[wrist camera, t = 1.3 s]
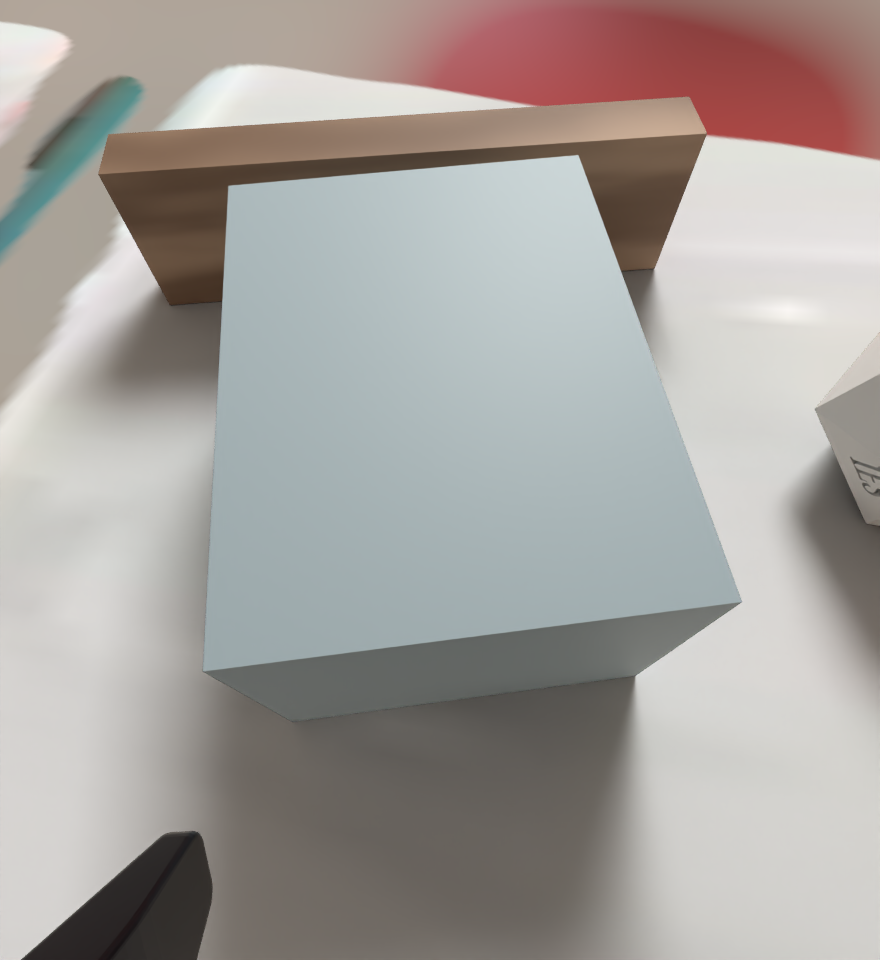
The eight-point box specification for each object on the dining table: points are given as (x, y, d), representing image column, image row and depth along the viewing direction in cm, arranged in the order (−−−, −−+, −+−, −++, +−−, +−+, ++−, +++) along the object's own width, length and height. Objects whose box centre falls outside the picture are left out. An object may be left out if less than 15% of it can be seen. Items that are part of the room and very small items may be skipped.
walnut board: (654, 268, 31) (706, 133, 25) (169, 304, 30) (98, 174, 24) (642, 233, 32) (689, 96, 26) (175, 268, 31) (108, 134, 25)
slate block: (633, 677, 22) (742, 602, 14) (293, 722, 21) (202, 671, 13) (542, 332, 29) (578, 154, 21) (288, 358, 29) (228, 185, 21)
